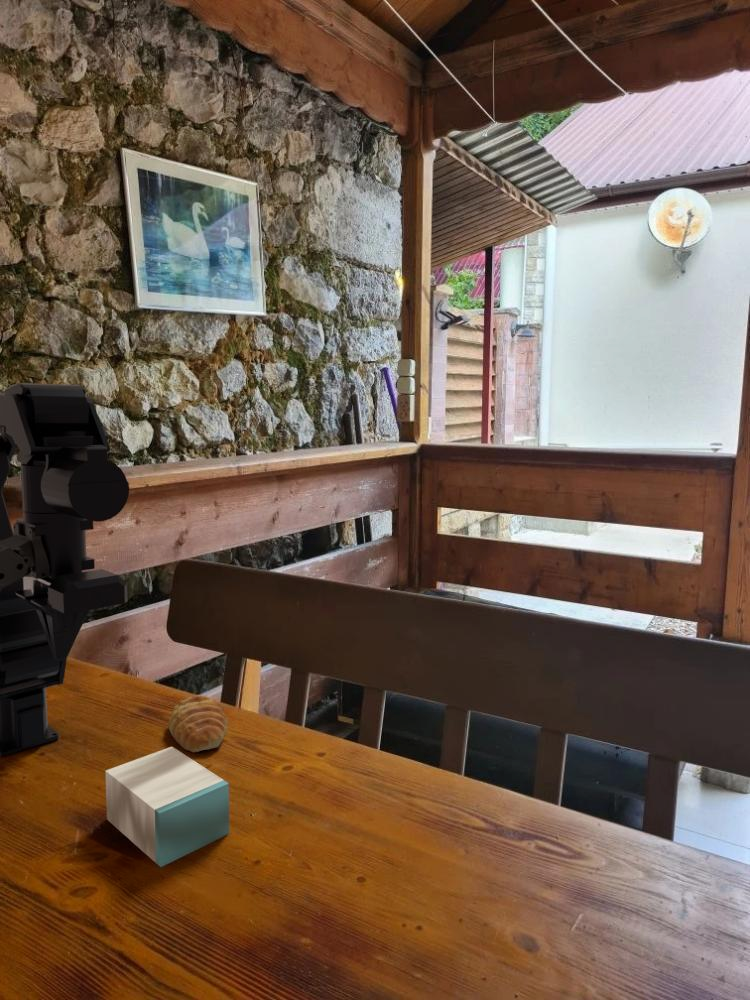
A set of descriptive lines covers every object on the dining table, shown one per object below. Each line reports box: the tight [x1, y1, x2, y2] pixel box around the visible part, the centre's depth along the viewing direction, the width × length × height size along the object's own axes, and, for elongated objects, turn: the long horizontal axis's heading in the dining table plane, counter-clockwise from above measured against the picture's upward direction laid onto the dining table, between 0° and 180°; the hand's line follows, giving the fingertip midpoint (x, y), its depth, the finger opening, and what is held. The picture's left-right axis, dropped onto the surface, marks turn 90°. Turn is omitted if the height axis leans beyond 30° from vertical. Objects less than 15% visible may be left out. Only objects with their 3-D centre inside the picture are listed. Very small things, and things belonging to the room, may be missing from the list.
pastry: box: [167, 694, 229, 753], centre depth 85 cm, size 9×7×4 cm
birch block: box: [105, 746, 230, 868], centre depth 67 cm, size 5×7×10 cm
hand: (60, 658), depth 74 cm, fingers closed
